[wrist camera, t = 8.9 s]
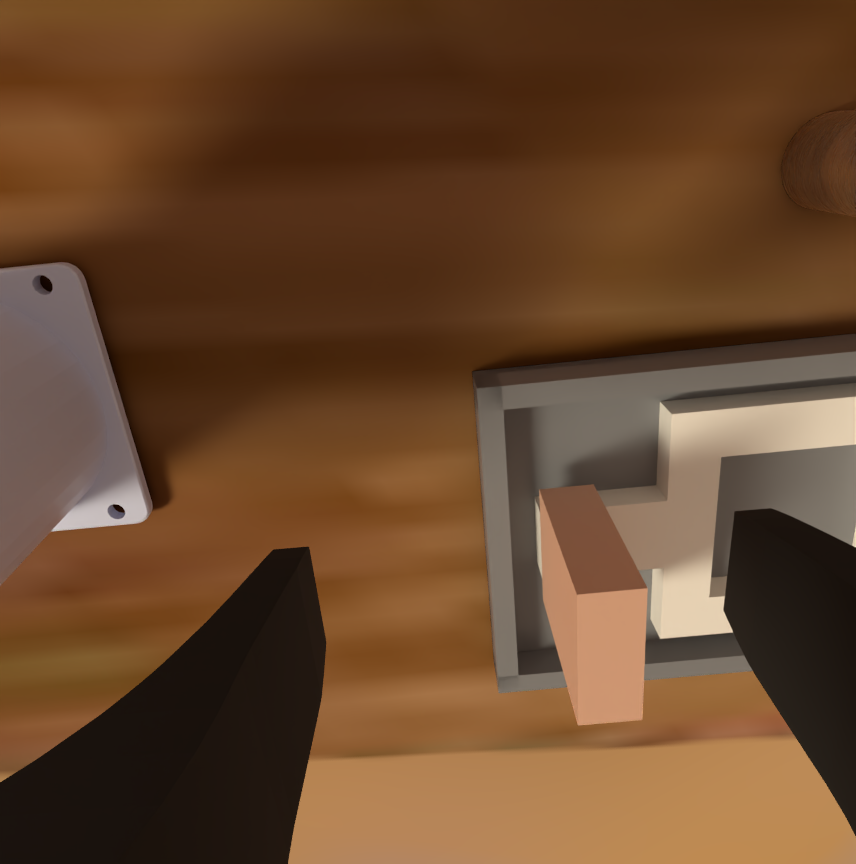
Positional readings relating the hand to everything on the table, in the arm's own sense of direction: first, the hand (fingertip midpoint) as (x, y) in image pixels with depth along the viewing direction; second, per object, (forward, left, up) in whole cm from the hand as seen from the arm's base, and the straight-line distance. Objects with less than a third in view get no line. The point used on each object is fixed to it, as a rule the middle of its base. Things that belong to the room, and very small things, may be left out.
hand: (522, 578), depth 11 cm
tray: (+8, -5, -9) cm, 13 cm away
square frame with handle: (+7, -5, -9) cm, 13 cm away
